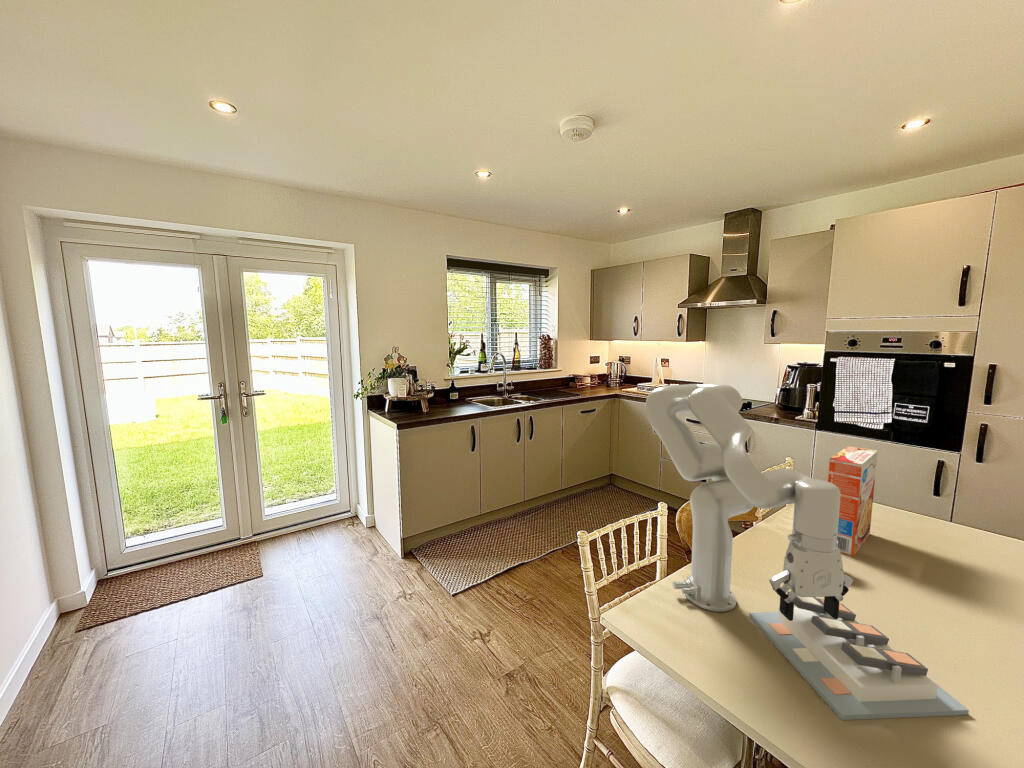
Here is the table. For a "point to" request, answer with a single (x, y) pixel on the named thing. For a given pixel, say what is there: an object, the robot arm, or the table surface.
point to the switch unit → (852, 672)
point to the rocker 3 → (883, 658)
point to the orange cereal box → (853, 495)
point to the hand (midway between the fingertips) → (808, 615)
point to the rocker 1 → (821, 606)
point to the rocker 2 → (849, 630)
